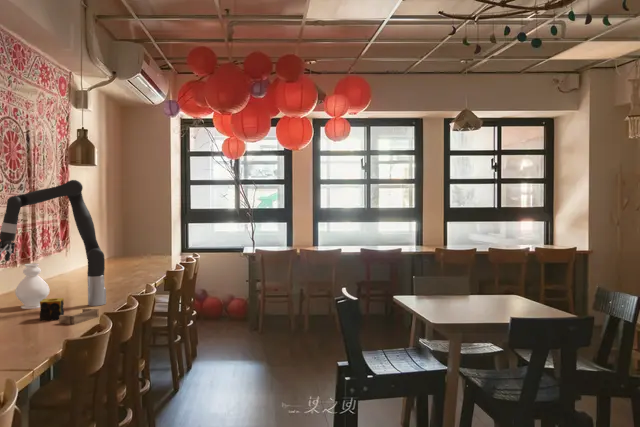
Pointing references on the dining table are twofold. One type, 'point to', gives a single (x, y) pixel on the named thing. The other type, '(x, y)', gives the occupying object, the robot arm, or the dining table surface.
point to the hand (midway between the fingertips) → (2, 260)
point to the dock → (79, 316)
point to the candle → (51, 308)
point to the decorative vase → (32, 287)
